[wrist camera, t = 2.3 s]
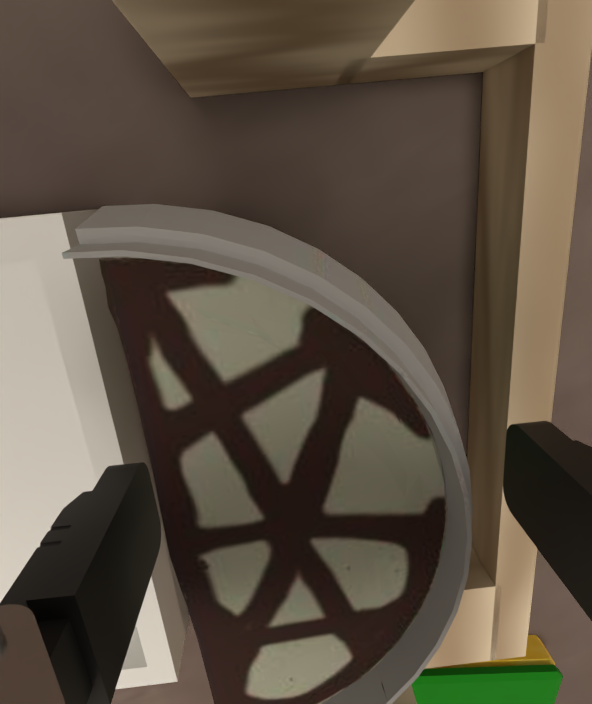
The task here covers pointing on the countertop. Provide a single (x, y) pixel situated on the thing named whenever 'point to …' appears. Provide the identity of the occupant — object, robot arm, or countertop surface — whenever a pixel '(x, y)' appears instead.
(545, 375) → the holder
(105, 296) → the tray
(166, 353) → the food container
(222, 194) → the countertop surface
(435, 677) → the dish sponge
